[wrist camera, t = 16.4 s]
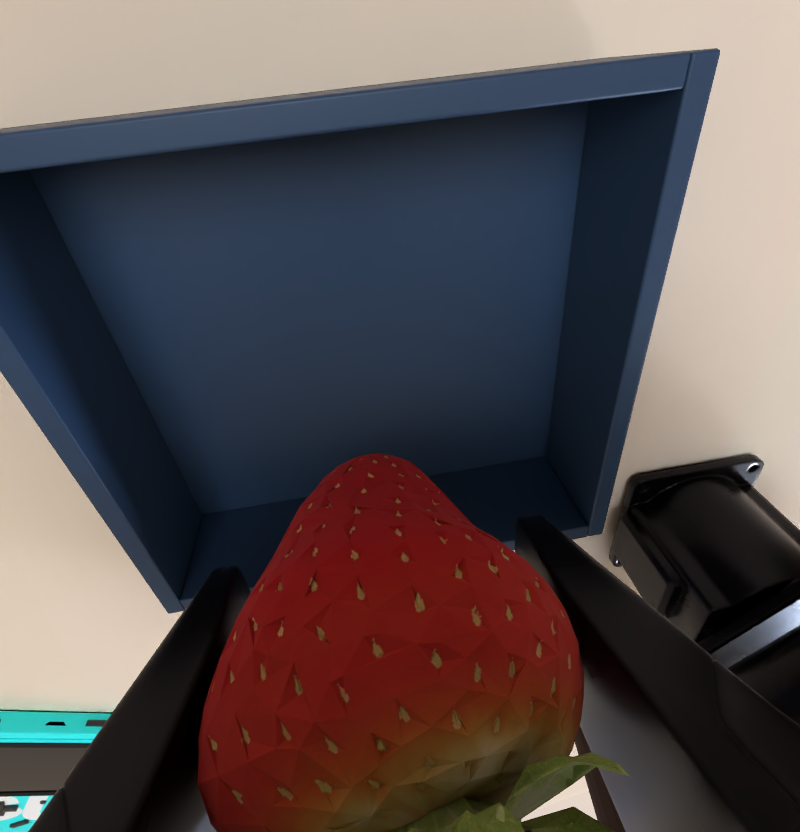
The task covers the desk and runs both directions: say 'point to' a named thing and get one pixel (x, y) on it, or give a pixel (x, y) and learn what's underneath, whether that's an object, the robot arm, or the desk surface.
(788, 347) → the desk surface
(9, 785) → the handheld game console
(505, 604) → the fruit
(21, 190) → the blue box
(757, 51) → the desk surface
